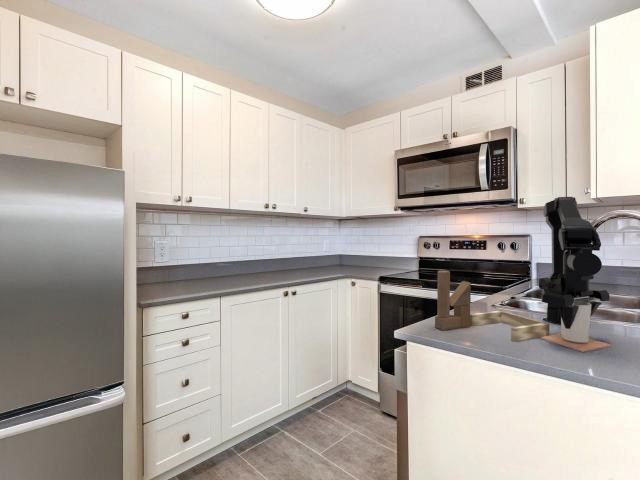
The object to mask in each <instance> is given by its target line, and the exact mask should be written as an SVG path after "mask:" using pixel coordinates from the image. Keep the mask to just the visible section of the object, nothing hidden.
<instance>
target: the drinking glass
mask: <svg viewBox="0 0 640 480" xmlns="http://www.w3.org/2000/svg"><path fill="white" fill-rule="evenodd" d="M574 305H576V306H579V308H578V311H577V313H576V316H575V319H574V322H573V324H572V326H571V328H570V329H566V328H565V326H564V323H563V320H562V318H561V326H560V327H561V334H562V338H563V339H565V340H568V341H573V342H581V343H585V342H588V338H589V339H590V337H589V336H590V327H591V326H590V325H591V324H590V322H591V318H590V315H591V303H588V302H583V301H577V300H574Z"/></svg>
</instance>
